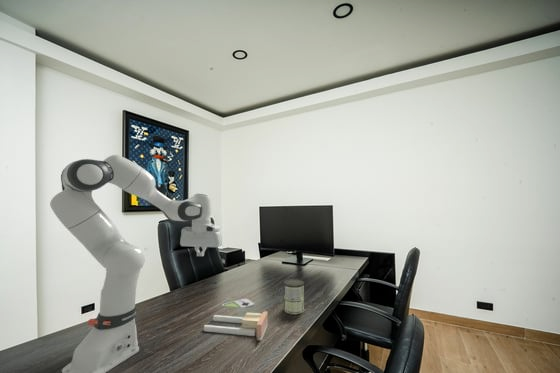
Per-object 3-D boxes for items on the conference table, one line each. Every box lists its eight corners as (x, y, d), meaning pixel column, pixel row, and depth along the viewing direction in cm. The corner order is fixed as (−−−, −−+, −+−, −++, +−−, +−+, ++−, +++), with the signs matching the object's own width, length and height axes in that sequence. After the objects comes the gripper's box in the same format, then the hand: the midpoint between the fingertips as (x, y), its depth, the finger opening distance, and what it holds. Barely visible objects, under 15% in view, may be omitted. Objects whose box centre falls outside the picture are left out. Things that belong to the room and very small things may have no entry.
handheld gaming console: (255, 303, 127) (229, 310, 119) (255, 306, 127) (229, 313, 119) (246, 297, 136) (221, 303, 127) (246, 300, 135) (221, 306, 127)
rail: (261, 340, 94) (261, 324, 95) (200, 334, 98) (201, 319, 99) (267, 325, 106) (267, 311, 107) (213, 320, 110) (213, 307, 111)
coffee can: (280, 307, 125) (281, 280, 126) (298, 304, 129) (298, 278, 130) (288, 315, 116) (288, 286, 117) (307, 312, 119) (307, 283, 120)
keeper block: (258, 334, 97) (258, 321, 98) (241, 332, 98) (241, 319, 99) (262, 325, 104) (262, 313, 104) (246, 324, 105) (246, 312, 106)
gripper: (178, 227, 114) (176, 256, 113) (218, 228, 111) (217, 258, 110) (185, 226, 121) (184, 253, 120) (223, 227, 117) (222, 255, 116)
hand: (200, 255), depth 115 cm, fingers closed
